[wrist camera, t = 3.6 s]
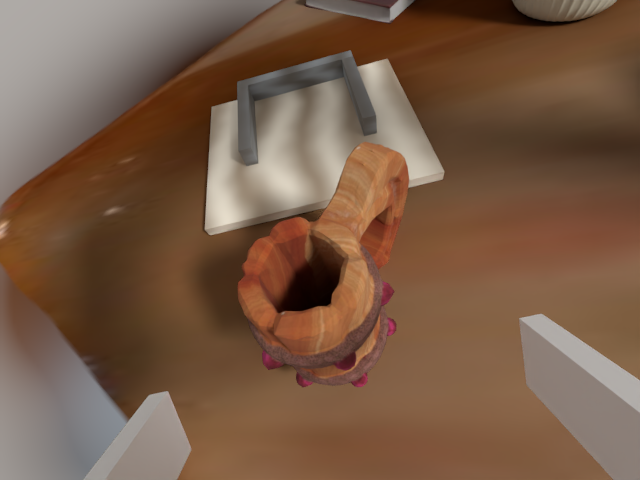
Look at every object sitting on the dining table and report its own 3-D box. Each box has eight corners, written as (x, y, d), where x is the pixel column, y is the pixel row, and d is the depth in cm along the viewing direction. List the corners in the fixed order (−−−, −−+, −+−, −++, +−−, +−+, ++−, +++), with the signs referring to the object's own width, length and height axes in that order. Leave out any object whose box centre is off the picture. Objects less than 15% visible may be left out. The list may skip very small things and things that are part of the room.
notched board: (387, 67, 44) (387, 40, 41) (442, 179, 33) (448, 153, 30) (215, 113, 47) (203, 91, 43) (210, 235, 35) (192, 216, 32)
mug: (351, 422, 23) (307, 417, 11) (270, 360, 27) (163, 300, 14) (435, 266, 28) (474, 135, 15) (357, 231, 32) (337, 100, 19)
